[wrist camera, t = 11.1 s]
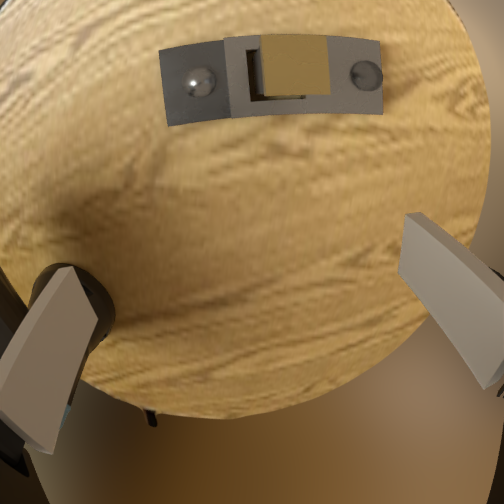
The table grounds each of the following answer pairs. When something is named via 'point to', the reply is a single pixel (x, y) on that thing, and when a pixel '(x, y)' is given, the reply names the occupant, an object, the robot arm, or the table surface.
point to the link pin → (291, 65)
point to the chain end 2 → (340, 101)
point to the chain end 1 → (195, 83)
